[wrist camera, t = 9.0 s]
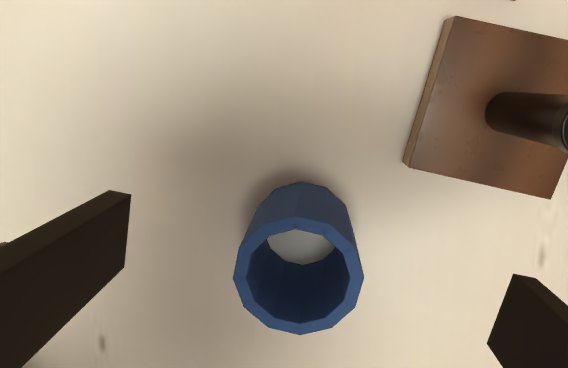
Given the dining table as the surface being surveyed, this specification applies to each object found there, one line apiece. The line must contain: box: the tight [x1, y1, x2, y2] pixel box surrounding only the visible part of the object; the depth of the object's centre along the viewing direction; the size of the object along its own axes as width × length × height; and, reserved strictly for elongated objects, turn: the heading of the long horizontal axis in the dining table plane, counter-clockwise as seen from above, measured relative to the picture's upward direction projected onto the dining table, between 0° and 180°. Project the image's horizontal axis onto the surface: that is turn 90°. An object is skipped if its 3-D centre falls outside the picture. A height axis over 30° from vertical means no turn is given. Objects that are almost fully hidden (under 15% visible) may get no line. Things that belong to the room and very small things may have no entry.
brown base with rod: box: [403, 16, 568, 199], centre depth 22 cm, size 10×10×11 cm
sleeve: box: [233, 182, 364, 335], centre depth 27 cm, size 8×8×8 cm
